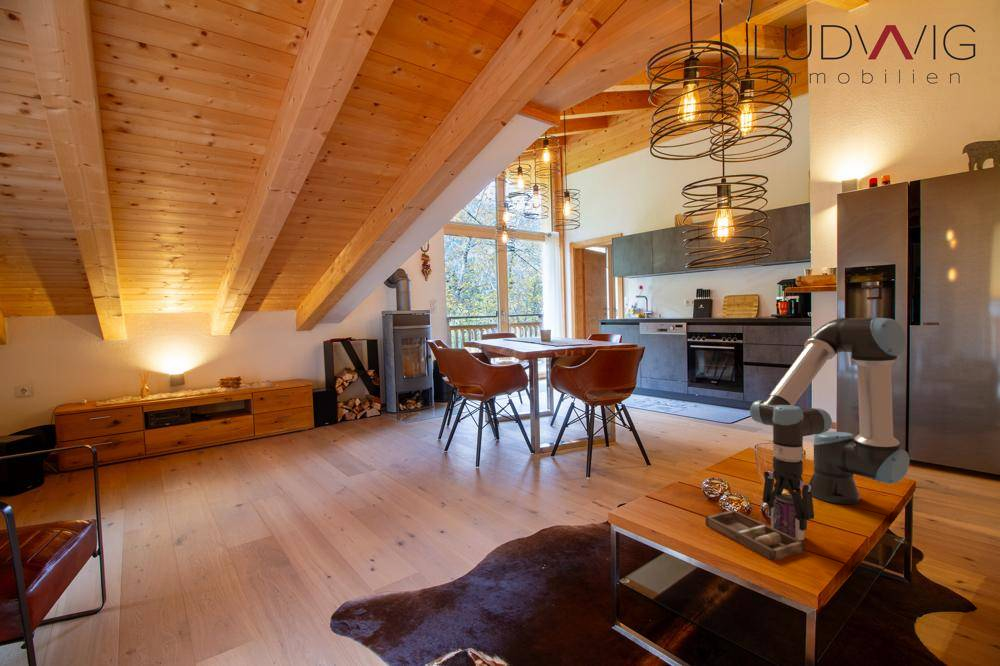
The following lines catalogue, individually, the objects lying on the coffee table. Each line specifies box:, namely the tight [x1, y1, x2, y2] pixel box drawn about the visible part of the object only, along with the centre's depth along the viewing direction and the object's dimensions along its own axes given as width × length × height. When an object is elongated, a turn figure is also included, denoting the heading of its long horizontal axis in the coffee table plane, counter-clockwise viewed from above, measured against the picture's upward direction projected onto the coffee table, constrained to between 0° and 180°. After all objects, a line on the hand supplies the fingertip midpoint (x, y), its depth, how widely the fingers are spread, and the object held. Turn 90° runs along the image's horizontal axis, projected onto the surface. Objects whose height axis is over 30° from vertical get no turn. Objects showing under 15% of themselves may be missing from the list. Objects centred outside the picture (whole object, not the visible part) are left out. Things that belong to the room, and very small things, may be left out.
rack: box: [705, 509, 805, 562], centre depth 135 cm, size 12×23×4 cm, turn 22°
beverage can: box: [773, 493, 798, 538], centre depth 136 cm, size 7×7×12 cm
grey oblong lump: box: [755, 532, 782, 547], centre depth 130 cm, size 7×3×3 cm, turn 112°
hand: (787, 533), depth 137 cm, fingers closed on beverage can, 7 cm apart
